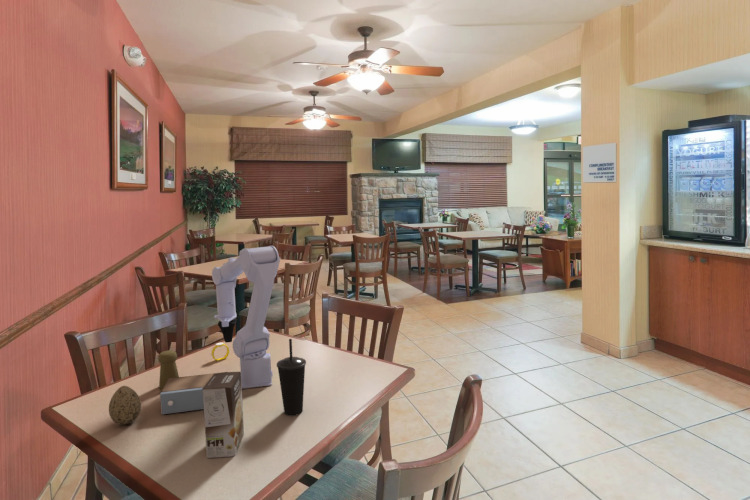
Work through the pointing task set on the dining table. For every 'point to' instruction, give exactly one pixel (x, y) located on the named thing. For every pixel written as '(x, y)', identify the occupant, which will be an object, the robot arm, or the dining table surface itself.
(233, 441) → the coffee box
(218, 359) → the watch
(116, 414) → the decorative egg
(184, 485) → the dining table surface
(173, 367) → the cork
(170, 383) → the cabinet
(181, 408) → the cabinet door
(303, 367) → the drinking cup
